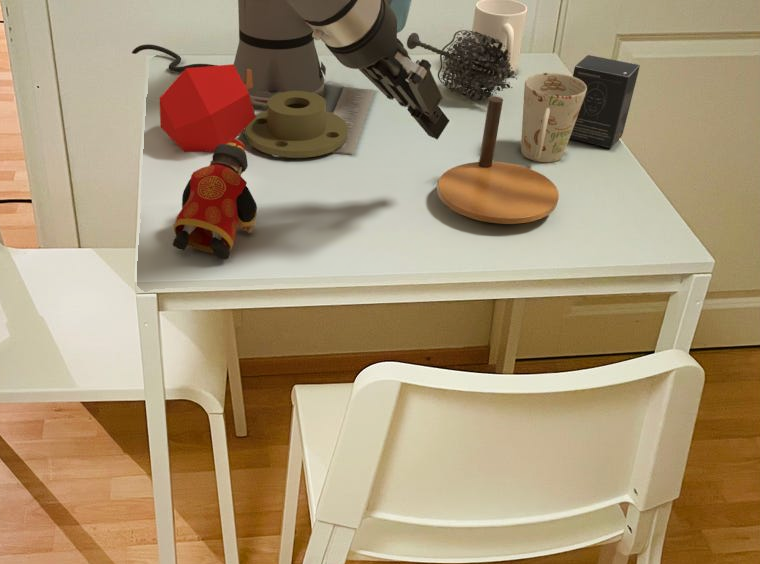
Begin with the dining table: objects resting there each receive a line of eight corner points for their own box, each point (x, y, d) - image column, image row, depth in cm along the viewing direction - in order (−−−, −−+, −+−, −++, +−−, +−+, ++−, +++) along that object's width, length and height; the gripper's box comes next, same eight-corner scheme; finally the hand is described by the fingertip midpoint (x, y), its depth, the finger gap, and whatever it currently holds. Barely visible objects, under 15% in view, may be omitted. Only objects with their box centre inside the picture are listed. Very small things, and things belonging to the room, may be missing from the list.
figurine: (243, 281, 117) (279, 181, 121) (233, 241, 108) (273, 134, 112) (171, 264, 118) (209, 165, 122) (156, 223, 109) (197, 118, 113)
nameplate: (352, 152, 134) (318, 149, 135) (352, 154, 134) (318, 151, 135) (374, 89, 151) (343, 87, 152) (374, 91, 151) (343, 89, 152)
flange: (363, 91, 137) (270, 75, 142) (326, 133, 127) (226, 114, 132) (361, 122, 141) (270, 105, 145) (325, 165, 131) (228, 146, 135)
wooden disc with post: (457, 158, 130) (467, 88, 124) (569, 181, 126) (585, 109, 119) (421, 207, 120) (429, 133, 113) (541, 234, 115) (558, 159, 109)
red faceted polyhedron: (187, 182, 137) (278, 136, 138) (165, 131, 126) (265, 81, 126) (155, 123, 141) (244, 79, 142) (132, 68, 130) (228, 20, 130)
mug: (573, 145, 138) (588, 76, 131) (566, 183, 129) (583, 112, 122) (516, 137, 139) (528, 69, 132) (505, 174, 130) (518, 104, 124)
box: (622, 136, 140) (641, 64, 133) (610, 149, 136) (629, 76, 129) (571, 124, 143) (587, 53, 136) (558, 137, 139) (574, 64, 132)
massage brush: (384, 38, 152) (401, 82, 159) (484, 80, 139) (498, 125, 146) (423, -3, 152) (439, 42, 160) (526, 35, 139) (538, 82, 147)
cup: (508, 59, 162) (519, -3, 155) (528, 87, 153) (540, 22, 146) (461, 61, 161) (470, -2, 154) (479, 88, 153) (489, 23, 146)
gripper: (290, 32, 102) (385, 137, 122) (375, 67, 95) (461, 172, 115) (328, -30, 101) (417, 86, 121) (416, 1, 94) (496, 118, 114)
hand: (439, 128), depth 118 cm, fingers closed
